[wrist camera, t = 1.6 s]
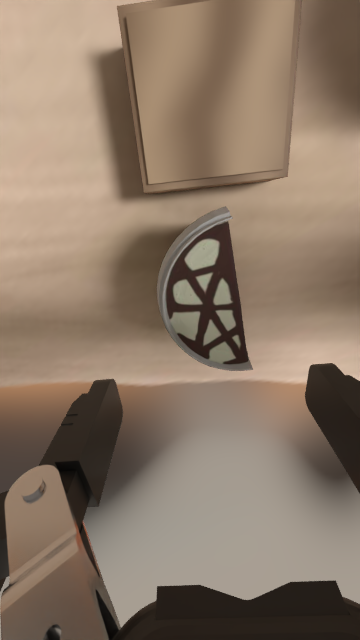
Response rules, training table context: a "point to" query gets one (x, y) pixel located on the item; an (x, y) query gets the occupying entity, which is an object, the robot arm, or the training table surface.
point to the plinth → (211, 89)
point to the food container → (204, 294)
